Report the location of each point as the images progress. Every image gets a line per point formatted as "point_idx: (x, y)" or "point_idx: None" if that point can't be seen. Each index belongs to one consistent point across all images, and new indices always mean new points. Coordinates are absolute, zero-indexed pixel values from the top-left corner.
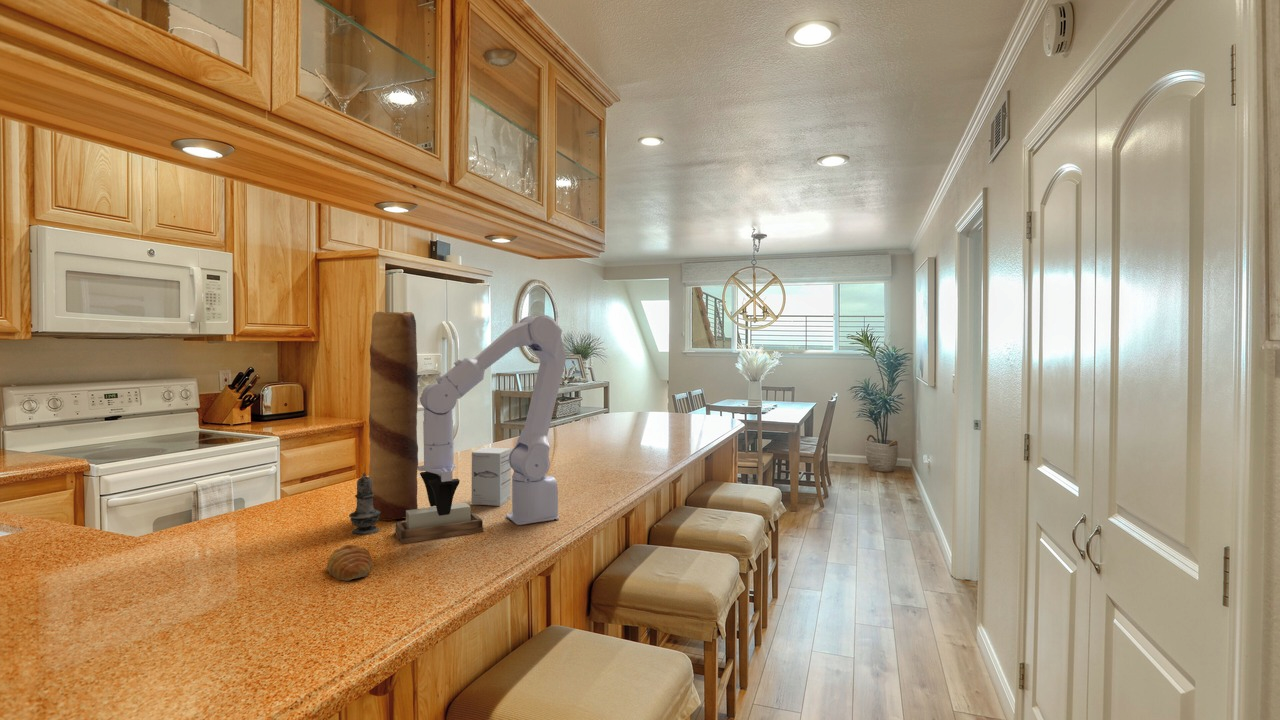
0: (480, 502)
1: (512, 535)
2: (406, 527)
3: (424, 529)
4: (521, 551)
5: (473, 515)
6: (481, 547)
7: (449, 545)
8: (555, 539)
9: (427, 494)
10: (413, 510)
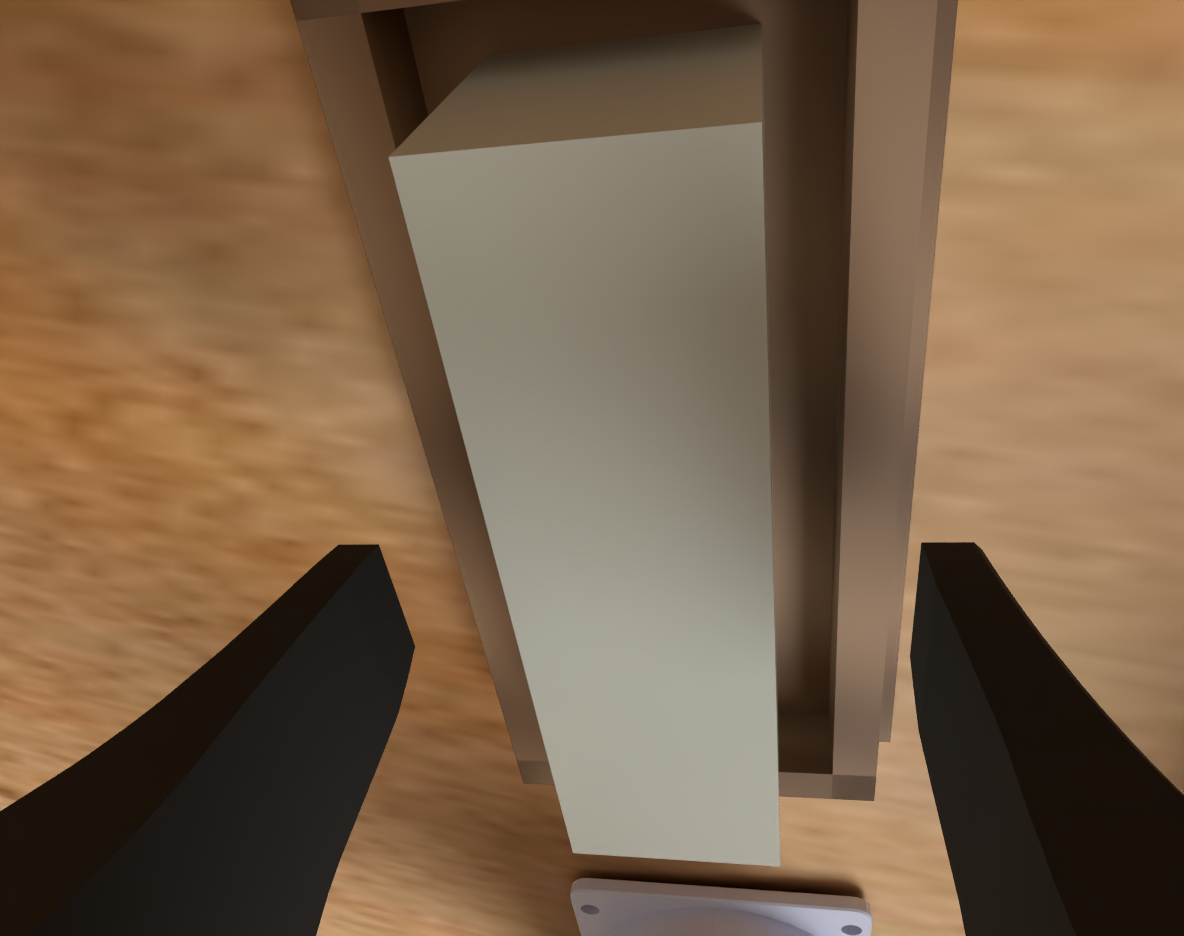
0: None
1: (365, 797)
2: (705, 43)
3: (380, 285)
4: (22, 747)
5: None
6: (111, 602)
7: (183, 420)
8: None
9: (1057, 671)
10: (679, 268)
